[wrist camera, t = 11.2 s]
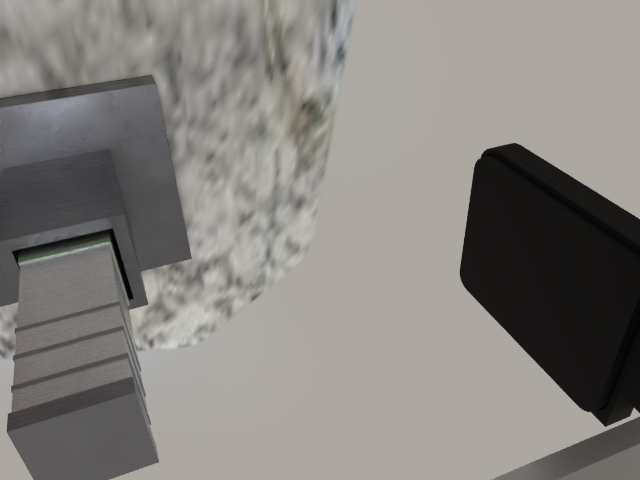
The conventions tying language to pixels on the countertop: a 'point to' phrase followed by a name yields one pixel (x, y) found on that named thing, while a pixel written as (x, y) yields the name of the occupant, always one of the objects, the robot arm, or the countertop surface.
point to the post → (77, 365)
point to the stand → (89, 178)
